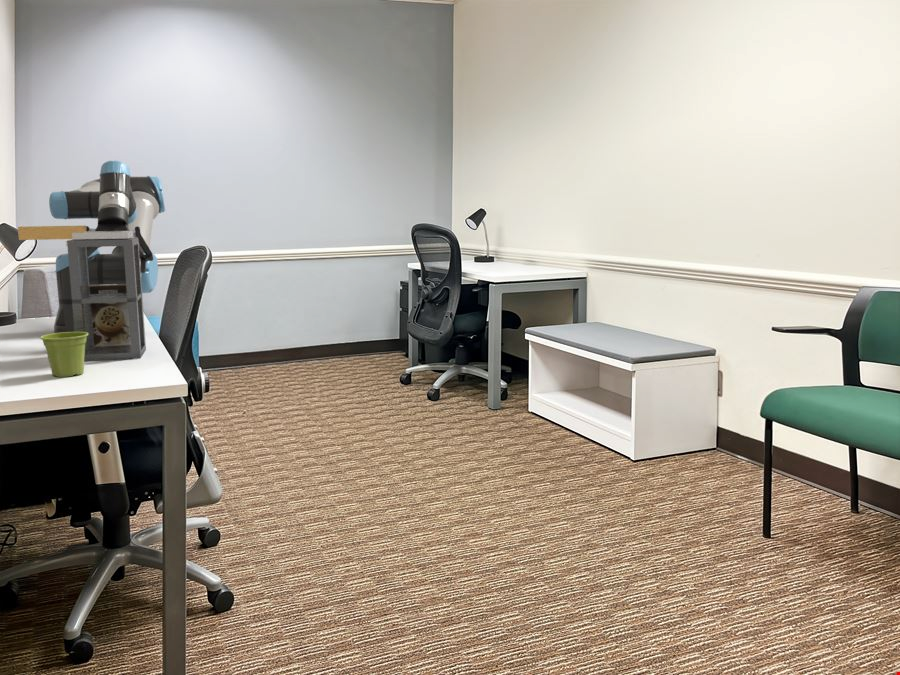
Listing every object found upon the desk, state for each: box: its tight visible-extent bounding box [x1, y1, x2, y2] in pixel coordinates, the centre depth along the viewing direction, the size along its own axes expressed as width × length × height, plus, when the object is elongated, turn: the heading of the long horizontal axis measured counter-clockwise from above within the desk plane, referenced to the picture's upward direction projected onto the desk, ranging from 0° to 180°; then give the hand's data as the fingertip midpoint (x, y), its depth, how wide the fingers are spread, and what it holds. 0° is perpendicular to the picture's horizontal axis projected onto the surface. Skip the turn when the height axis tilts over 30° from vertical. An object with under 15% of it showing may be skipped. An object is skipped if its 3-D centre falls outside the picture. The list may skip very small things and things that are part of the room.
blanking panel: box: [17, 225, 133, 241], centre depth 196 cm, size 10×24×3 cm, turn 104°
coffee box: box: [90, 284, 131, 346], centre depth 213 cm, size 9×6×16 cm
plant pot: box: [39, 332, 88, 378], centre depth 179 cm, size 9×9×9 cm
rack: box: [65, 238, 147, 362], centre depth 199 cm, size 12×14×28 cm
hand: (110, 283), depth 213 cm, fingers open, 13 cm apart
